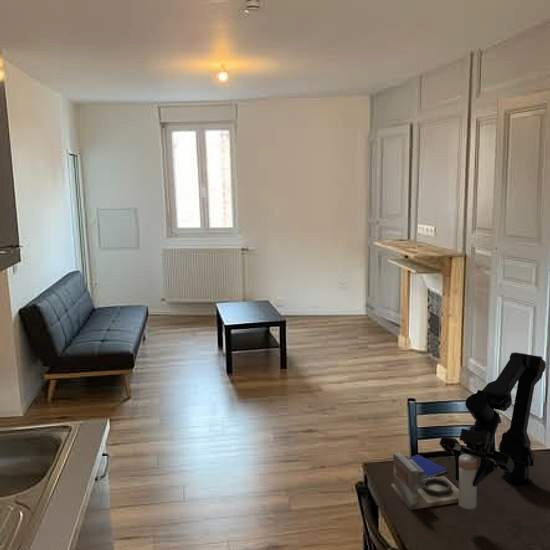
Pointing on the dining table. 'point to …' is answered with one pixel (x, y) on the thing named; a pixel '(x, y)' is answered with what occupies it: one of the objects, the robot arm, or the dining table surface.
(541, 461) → the dining table surface
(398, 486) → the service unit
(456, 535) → the dining table surface
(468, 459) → the cartridge
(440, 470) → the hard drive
